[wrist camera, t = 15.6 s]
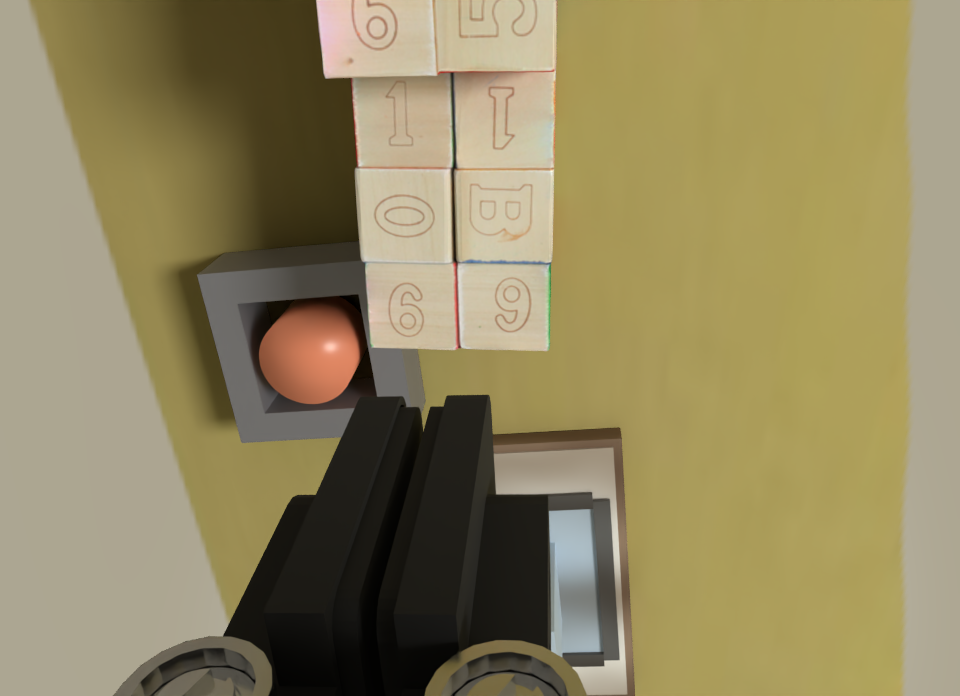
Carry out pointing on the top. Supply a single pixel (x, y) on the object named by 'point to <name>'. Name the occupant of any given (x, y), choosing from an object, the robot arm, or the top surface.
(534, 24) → the stack of blocks
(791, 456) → the top surface
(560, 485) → the picture board
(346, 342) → the button
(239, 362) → the button housing
